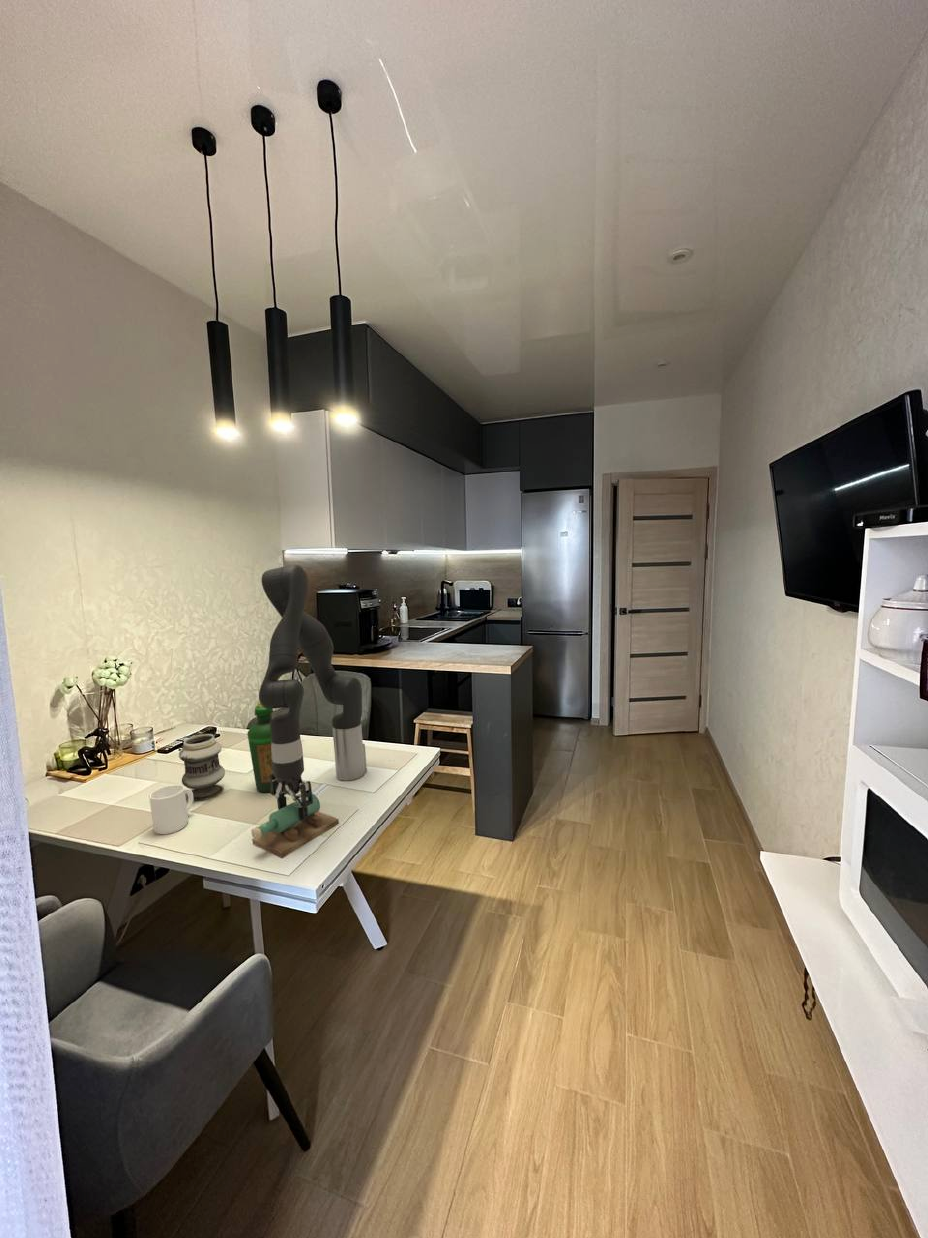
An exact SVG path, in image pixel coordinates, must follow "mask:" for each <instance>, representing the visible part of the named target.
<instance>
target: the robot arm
mask: <svg viewBox="0 0 928 1238" xmlns="http://www.w3.org/2000/svg"><path fill="white" fill-rule="evenodd" d="M261 585H262V589H263V591H264V593H265V595H266V598H268V600H269V602H270V604H271V605H272V606H273V607H274V608H275V609H274V610H276V612H277V613H278V614H279V616H280V617H281V620H280V621H279V623H278V624H277V626H276V627H275V629H274V631H273V633H272V635H271V638H270V642H269V653H268V654H269V655H268V665H267V669H266V672H265V675H264V678H263V679H262V683H261V685H260V688H259V691H258V702H260V703H261V705H262V706H263V707H264V708H266V709H273V710H275V709H285V708H286V709H287V708H288V712H287V713H284V714H281V715H278V716H275V717H273V718H272V720H271V722H270V732H271V754H272V764H273V773H272V774H270V791H271V792H270V795H271V796H274V798H275V800H276V801H277V802H276V803H277V810H279V809H281V808H283V807H285V806H287V805H288V804H287V796H286V795H288V796H290V797H291V800H292V801H293V802H295V801H296V803H297V805H298V813H299V820H300V821H304V820H306V819H307V818H308V808H307V806H309V805H310V804H312V803H313V797H312V794H313V791H312V784H311V781H310V780H308V781H305V782H304V781H303V779H302V775H303V773H304V772H305V765H304V764H305V762H304V752H303V744H302V739H301V729H300V717H301V716H300V715H301V714H300V713H301V707H302V703H303V700H304V699H303V698H304V693H305V692H304V686H303V684H302V682H301V681H300V680H298V679H294V678H292V679H291V678H290V679H280V678H281V677H282V676H283V675H287V674H290V673H292V672H294V671H296V670H297V669H298V661H299V660H298V659H299V648H300V651H301V652H302V654H303V655H304V657H305V659H306V660H307V662H308V664H309V666H310V667H311V670H312V671H313V674H314V676H315V678H316V679H317V682H318V684H319V687H320V690H321V693H322V694H323V697H324V698H325V700H326V701H327V702H328V703H329V704H332V705H339V706H342V712H340V713H339V714H336V715H333V717H332V719H331V725H332V738H333V752H334V763H335V777H336V779H338V780H340V781H353V780H357V779H359V778H362V777H364V775H365V773H366V772H367V771H368V768H367V766H368V765H367V754H366V753H367V752H366V745H365V743H363V742H364V741H363V732H362V730H363V729H362V715H363V688H362V684H361V682H360V679H358V678H357V677H354V676H353V677H352V676H340V675H338V673H337V672H336V670H335V669H334V666H333V665H332V660H333V654H334V643H333V641H332V638H331V636H330V634H329V633H328V630H327V628H326V627H325V625H324V624H322V623H321V622H320V621H319V620H318V619H316V618H315V617H313V616H311V615H310V614H308V613H307V612H305V608H306V602H307V597H308V594H309V593H308V591H309V578H308V575H307V573H306V571H305V569H304V568H303V566H301V565H299V564H292V565H291V564H289V565H285V566H280V567H276V568H271V569H268V570H266V571H264V572H263V573H262V575H261ZM275 786H277V789H275ZM299 793H300V794H299ZM306 797H308V800H307V798H306ZM300 799H302V802H301V801H300Z"/></svg>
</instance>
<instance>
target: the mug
mask: <svg viewBox="0 0 928 1238" xmlns="http://www.w3.org/2000/svg"><path fill="white" fill-rule="evenodd" d="M186 795H187V798H186ZM148 797H149V804H150V811H151V812H150V813H151V821H152V828H153V830H154V831H153V832H154V833H155V834H158V835H169V834H172V833H176V832H178V831H181V830H182V829H183V828H185V827H186V826H187V824H188V822H189V815H188V812H189V811H190V810H191V808H192V806H193V803H194V801H193V793H192V789H190V788H187V787H185V786H184V785H183V784H172V785H166V786H162V787H159V788H157V789H155V790H153V791H152V792H151V793H150V794H149V796H148ZM186 799H187V800H186Z"/></svg>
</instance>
